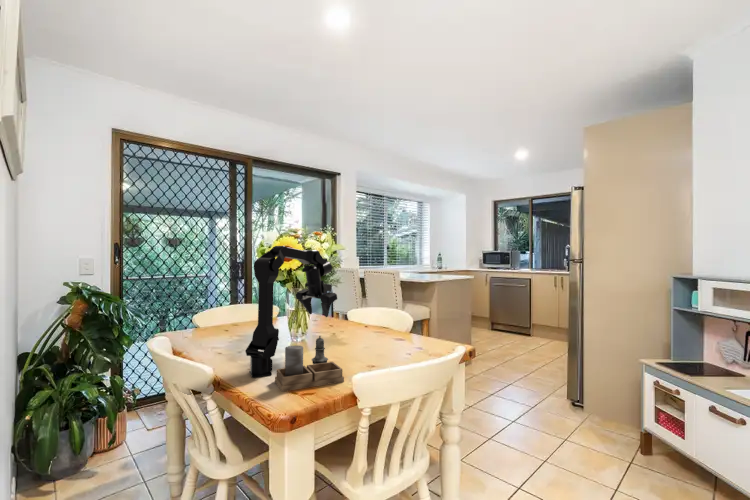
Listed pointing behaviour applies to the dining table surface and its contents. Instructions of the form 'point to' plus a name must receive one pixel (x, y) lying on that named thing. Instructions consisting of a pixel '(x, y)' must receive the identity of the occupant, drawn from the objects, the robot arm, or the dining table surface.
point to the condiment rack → (305, 372)
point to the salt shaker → (319, 352)
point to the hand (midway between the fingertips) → (318, 315)
